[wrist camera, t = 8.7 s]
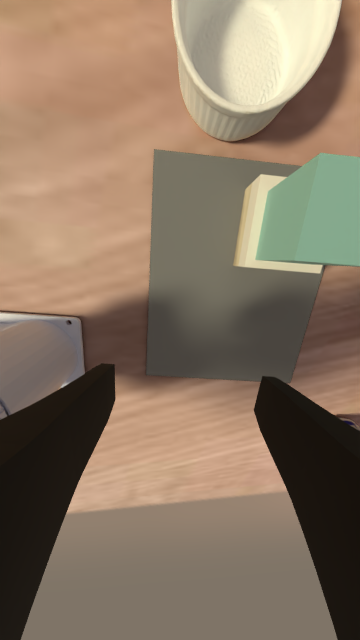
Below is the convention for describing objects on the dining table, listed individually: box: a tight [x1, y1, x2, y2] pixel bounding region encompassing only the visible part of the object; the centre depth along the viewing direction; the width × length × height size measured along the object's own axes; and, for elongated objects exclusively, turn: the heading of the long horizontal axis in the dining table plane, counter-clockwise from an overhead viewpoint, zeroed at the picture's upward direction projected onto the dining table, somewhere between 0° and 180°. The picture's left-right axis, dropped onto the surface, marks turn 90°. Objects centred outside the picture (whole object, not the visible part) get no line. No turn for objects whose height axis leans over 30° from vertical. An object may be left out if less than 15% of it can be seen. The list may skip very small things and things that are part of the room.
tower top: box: [238, 174, 323, 274], centre depth 15 cm, size 6×6×2 cm
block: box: [255, 153, 360, 267], centre depth 12 cm, size 4×4×5 cm
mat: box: [146, 149, 325, 383], centre depth 18 cm, size 16×20×1 cm
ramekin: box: [171, 0, 342, 141], centre depth 12 cm, size 9×9×4 cm
